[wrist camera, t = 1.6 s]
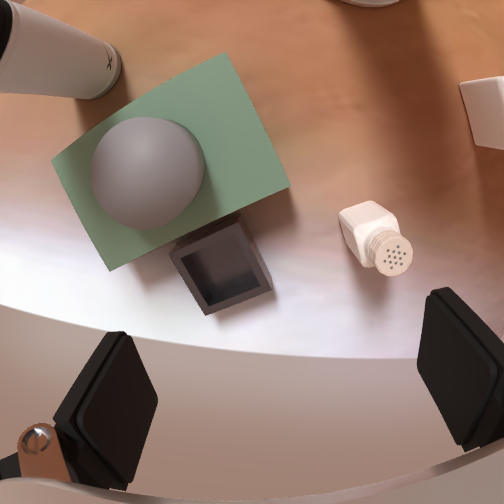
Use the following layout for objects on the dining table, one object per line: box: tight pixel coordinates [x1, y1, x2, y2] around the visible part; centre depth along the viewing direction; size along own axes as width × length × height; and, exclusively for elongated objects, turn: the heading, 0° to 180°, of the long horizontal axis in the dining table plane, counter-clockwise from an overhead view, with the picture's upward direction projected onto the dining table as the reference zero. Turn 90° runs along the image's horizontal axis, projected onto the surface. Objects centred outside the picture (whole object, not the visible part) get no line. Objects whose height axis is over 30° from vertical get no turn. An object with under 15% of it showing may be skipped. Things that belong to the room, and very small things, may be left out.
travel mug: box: [0, 0, 121, 100], centre depth 16 cm, size 6×7×20 cm
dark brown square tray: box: [169, 214, 272, 316], centre depth 31 cm, size 7×7×3 cm
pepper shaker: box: [339, 201, 413, 277], centre depth 27 cm, size 4×4×10 cm
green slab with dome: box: [51, 52, 291, 271], centre depth 25 cm, size 18×12×9 cm, turn 115°
